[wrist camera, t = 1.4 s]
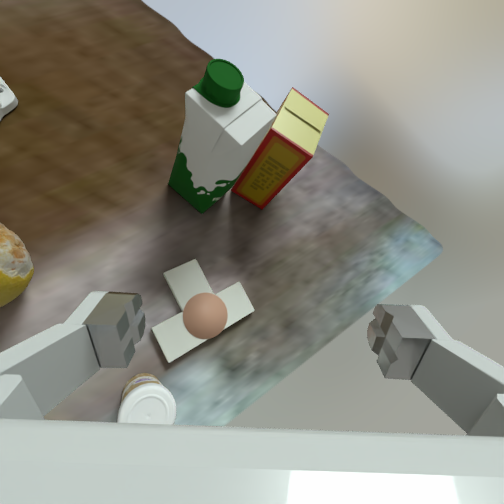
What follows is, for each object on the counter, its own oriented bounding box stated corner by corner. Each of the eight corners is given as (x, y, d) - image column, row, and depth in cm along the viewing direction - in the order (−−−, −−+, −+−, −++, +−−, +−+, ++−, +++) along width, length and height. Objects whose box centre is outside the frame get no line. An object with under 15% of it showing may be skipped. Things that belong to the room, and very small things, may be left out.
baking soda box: (262, 209, 50) (314, 155, 36) (230, 190, 48) (272, 126, 34) (278, 173, 54) (330, 112, 40) (250, 154, 52) (293, 84, 39)
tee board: (131, 288, 37) (131, 286, 36) (219, 249, 44) (221, 247, 43) (168, 364, 36) (169, 364, 35) (252, 312, 43) (255, 311, 42)
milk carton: (195, 155, 47) (233, 43, 30) (234, 191, 48) (293, 102, 31) (159, 183, 43) (179, 72, 26) (203, 222, 44) (251, 140, 27)
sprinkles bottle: (154, 366, 35) (167, 375, 23) (165, 402, 34) (184, 429, 23) (116, 383, 33) (109, 402, 21) (127, 422, 32) (126, 463, 21)
